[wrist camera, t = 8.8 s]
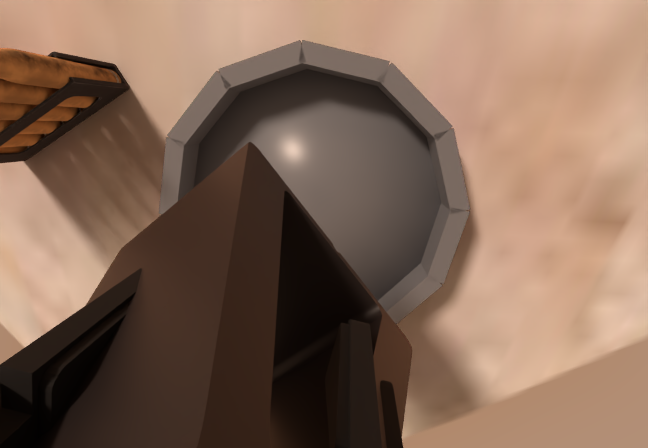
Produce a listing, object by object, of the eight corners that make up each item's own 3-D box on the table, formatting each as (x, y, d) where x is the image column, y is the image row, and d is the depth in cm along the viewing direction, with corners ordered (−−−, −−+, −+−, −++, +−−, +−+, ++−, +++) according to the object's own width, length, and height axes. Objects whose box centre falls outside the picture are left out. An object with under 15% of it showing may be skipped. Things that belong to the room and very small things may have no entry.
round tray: (493, 95, 23) (514, 91, 20) (405, 347, 29) (411, 372, 26) (200, 23, 23) (178, 10, 21) (169, 289, 29) (149, 307, 26)
